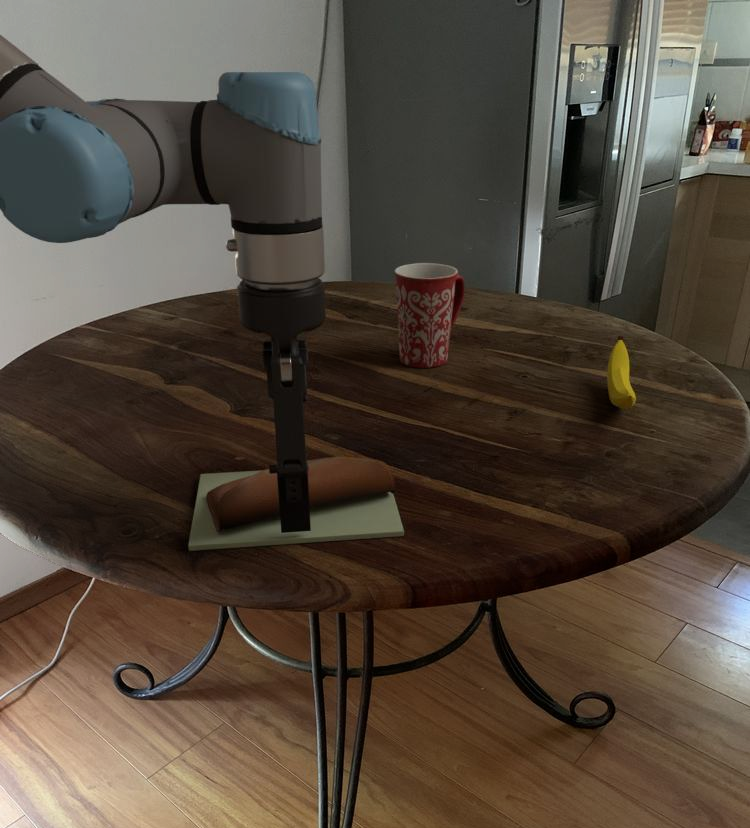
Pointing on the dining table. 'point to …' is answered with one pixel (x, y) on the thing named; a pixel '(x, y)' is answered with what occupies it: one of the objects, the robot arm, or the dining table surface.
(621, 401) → the banana
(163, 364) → the dining table surface
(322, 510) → the mat
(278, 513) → the sunglasses case
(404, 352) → the mug
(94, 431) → the dining table surface
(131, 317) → the dining table surface
